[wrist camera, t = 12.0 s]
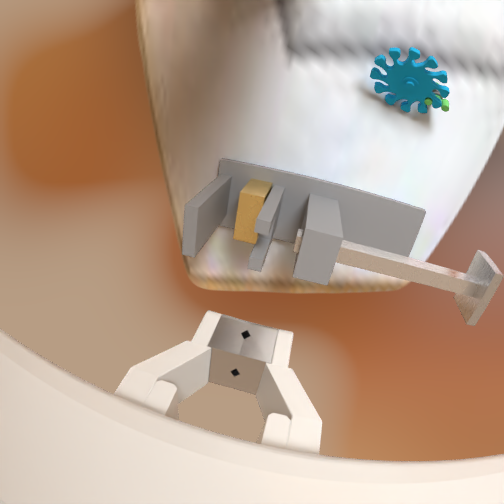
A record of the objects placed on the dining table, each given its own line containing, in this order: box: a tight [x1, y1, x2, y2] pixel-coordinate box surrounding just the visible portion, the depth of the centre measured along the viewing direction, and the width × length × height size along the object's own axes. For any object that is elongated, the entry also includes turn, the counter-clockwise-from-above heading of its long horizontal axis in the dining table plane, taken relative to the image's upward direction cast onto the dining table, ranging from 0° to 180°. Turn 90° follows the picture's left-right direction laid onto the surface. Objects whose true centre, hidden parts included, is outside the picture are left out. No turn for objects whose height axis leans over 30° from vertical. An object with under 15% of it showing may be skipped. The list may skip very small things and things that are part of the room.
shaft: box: [293, 229, 504, 326], centre depth 34 cm, size 8×28×6 cm, turn 80°
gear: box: [370, 47, 449, 113], centre depth 29 cm, size 11×6×10 cm
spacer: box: [233, 178, 273, 244], centre depth 41 cm, size 6×3×6 cm, turn 170°
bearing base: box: [182, 158, 426, 285], centre depth 37 cm, size 10×30×14 cm, turn 80°
